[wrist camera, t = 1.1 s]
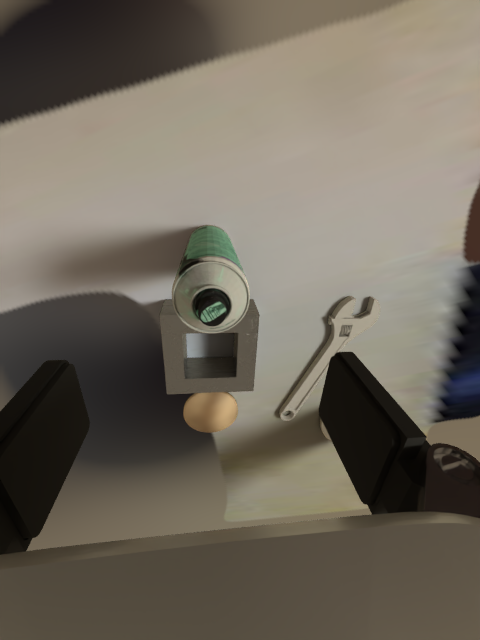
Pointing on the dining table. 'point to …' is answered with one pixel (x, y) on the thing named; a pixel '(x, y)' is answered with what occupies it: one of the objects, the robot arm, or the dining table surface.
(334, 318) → the adjustable wrench
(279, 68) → the dining table surface
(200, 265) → the spray can
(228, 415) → the coaster
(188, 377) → the block
